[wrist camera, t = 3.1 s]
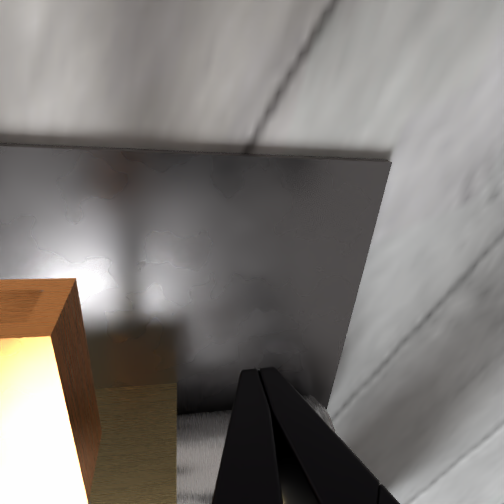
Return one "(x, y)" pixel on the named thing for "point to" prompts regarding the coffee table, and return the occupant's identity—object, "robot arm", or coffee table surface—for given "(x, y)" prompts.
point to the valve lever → (45, 395)
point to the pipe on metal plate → (190, 288)
